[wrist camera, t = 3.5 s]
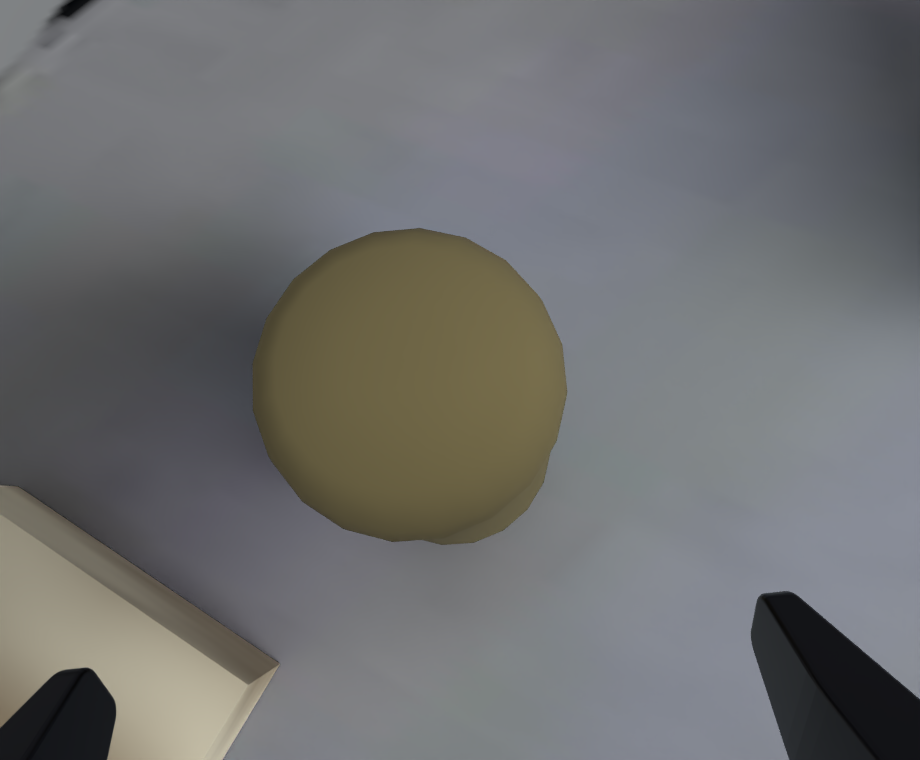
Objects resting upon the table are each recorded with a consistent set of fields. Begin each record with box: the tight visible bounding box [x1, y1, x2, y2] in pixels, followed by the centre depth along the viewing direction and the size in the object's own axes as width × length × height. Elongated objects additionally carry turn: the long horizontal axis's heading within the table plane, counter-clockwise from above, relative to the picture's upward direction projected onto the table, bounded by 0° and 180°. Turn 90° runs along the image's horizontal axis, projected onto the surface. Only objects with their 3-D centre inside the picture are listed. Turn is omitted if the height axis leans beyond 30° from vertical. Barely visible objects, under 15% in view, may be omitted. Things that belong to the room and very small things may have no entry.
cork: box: [253, 228, 567, 545], centre depth 15 cm, size 6×6×11 cm
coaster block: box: [0, 485, 280, 760], centre depth 18 cm, size 10×10×2 cm
